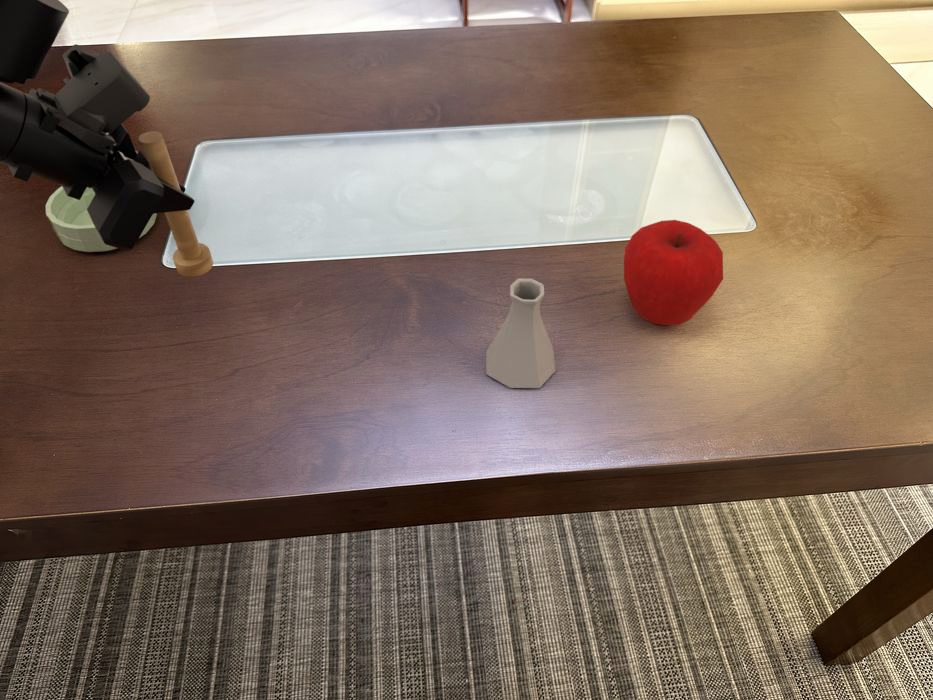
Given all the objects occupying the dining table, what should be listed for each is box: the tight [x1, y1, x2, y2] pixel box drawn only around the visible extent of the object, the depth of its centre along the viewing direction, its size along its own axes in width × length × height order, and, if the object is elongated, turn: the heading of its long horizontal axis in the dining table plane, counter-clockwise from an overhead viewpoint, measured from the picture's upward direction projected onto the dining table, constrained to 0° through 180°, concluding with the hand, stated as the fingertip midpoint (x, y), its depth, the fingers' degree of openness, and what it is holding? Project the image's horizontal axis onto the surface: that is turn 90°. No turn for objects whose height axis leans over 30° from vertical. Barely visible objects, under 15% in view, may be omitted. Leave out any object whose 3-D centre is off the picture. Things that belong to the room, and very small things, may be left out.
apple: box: [623, 219, 724, 326], centre depth 73 cm, size 10×10×11 cm
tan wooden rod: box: [137, 130, 214, 278], centre depth 68 cm, size 4×4×14 cm
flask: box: [485, 278, 556, 389], centre depth 69 cm, size 7×7×10 cm
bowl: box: [45, 185, 158, 253], centre depth 85 cm, size 11×11×4 cm
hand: (187, 198), depth 68 cm, fingers closed on tan wooden rod, 2 cm apart
